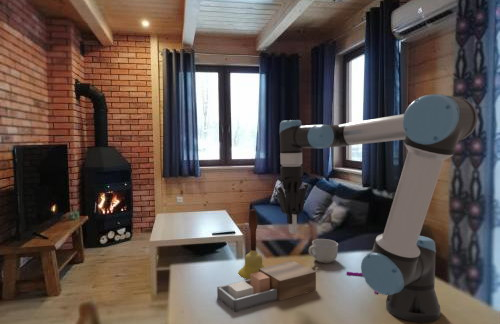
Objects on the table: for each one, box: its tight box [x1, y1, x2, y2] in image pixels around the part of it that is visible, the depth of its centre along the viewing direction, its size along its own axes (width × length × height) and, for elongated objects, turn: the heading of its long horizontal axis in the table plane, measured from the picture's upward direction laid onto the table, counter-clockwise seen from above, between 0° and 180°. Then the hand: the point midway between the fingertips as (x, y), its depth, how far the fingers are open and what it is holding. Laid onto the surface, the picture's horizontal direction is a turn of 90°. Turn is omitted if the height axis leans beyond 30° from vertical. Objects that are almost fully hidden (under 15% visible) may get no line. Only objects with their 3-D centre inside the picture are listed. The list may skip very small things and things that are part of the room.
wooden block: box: [259, 260, 317, 301], centre depth 132 cm, size 13×15×6 cm
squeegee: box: [346, 271, 379, 295], centre depth 142 cm, size 29×2×10 cm
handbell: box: [237, 208, 265, 280], centre depth 146 cm, size 12×12×25 cm
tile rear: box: [250, 272, 270, 294], centre depth 127 cm, size 6×6×4 cm
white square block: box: [227, 280, 253, 299], centre depth 124 cm, size 6×6×4 cm
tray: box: [216, 279, 278, 313], centre depth 125 cm, size 12×16×4 cm
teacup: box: [308, 238, 339, 264], centre depth 159 cm, size 14×11×8 cm
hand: (292, 232), depth 132 cm, fingers closed
